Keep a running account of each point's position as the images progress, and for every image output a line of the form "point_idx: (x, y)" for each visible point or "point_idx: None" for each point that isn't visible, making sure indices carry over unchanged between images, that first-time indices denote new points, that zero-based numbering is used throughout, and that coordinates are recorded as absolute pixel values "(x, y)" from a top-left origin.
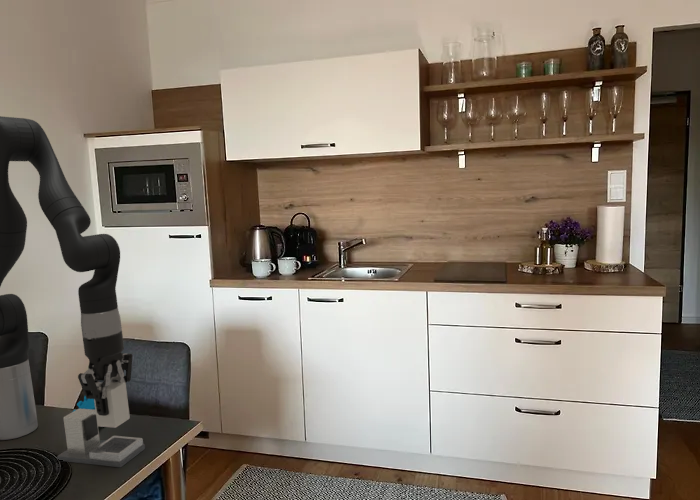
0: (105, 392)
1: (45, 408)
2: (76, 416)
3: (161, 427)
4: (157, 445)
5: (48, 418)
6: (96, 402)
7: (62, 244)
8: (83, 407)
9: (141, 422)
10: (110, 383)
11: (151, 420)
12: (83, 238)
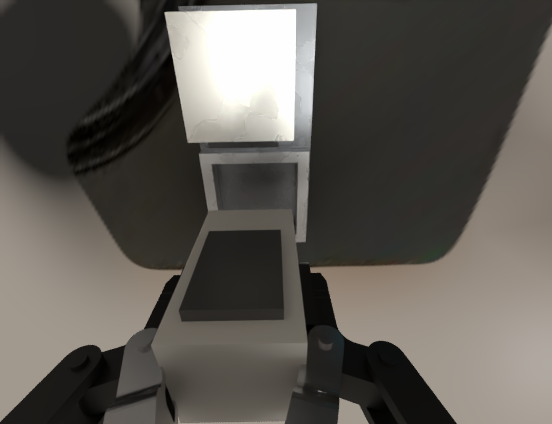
0: (168, 397)
1: None
2: (199, 97)
3: (423, 196)
4: (324, 243)
5: None
6: (150, 323)
7: None
8: None
9: (470, 112)
10: (278, 371)
11: (480, 137)
12: None
